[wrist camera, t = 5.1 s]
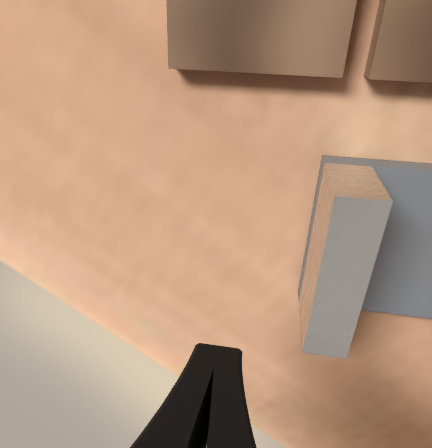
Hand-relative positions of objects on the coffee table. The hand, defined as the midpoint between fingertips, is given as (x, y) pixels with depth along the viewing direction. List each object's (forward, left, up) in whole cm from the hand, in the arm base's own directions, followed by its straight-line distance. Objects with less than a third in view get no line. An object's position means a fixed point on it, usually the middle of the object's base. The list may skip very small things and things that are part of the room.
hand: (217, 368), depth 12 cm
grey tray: (-10, 0, -9) cm, 14 cm away
